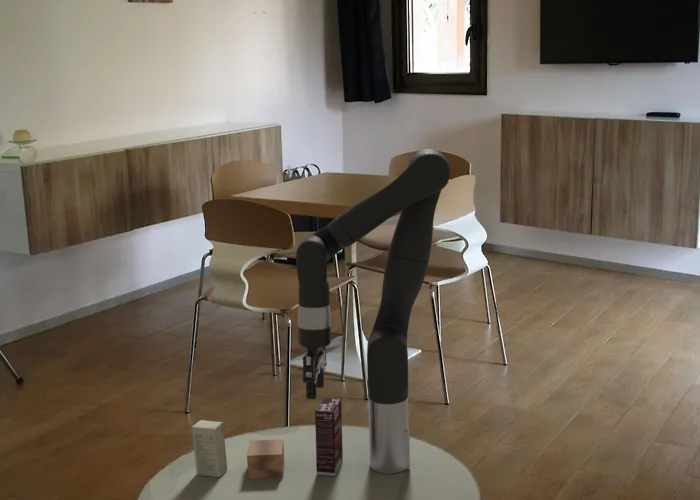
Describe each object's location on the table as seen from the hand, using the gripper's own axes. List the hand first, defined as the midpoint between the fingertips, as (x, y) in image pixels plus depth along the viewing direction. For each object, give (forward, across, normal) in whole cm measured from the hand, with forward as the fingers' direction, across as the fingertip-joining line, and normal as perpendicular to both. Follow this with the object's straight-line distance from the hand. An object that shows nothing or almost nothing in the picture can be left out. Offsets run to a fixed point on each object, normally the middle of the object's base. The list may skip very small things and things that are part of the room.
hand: (315, 392), depth 201 cm
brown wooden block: (+20, 0, +12) cm, 23 cm away
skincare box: (+20, -3, +25) cm, 32 cm away
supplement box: (+19, +3, -3) cm, 20 cm away
